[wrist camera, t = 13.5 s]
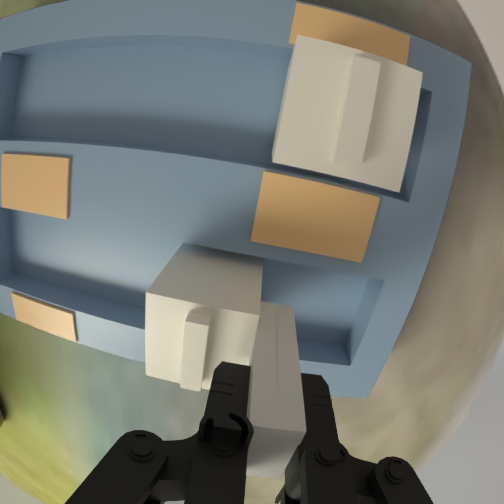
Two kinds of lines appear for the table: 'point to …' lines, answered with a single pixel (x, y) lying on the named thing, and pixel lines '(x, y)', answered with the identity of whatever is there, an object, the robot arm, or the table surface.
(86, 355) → the table surface
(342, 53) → the tab
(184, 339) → the tab
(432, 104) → the switch bank
